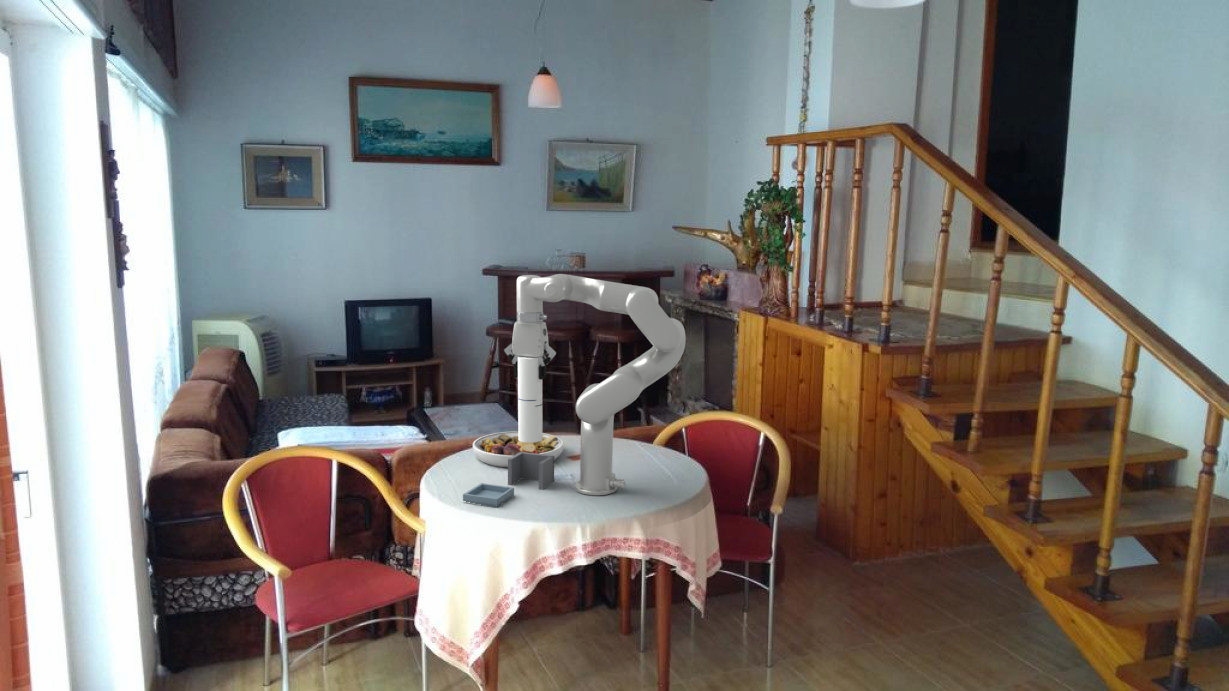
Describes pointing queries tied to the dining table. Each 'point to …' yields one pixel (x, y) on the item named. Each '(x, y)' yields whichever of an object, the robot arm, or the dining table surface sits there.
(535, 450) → the bowl
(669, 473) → the dining table surface
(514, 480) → the bay
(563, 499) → the dining table surface
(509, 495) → the tray
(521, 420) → the cylindrical container
